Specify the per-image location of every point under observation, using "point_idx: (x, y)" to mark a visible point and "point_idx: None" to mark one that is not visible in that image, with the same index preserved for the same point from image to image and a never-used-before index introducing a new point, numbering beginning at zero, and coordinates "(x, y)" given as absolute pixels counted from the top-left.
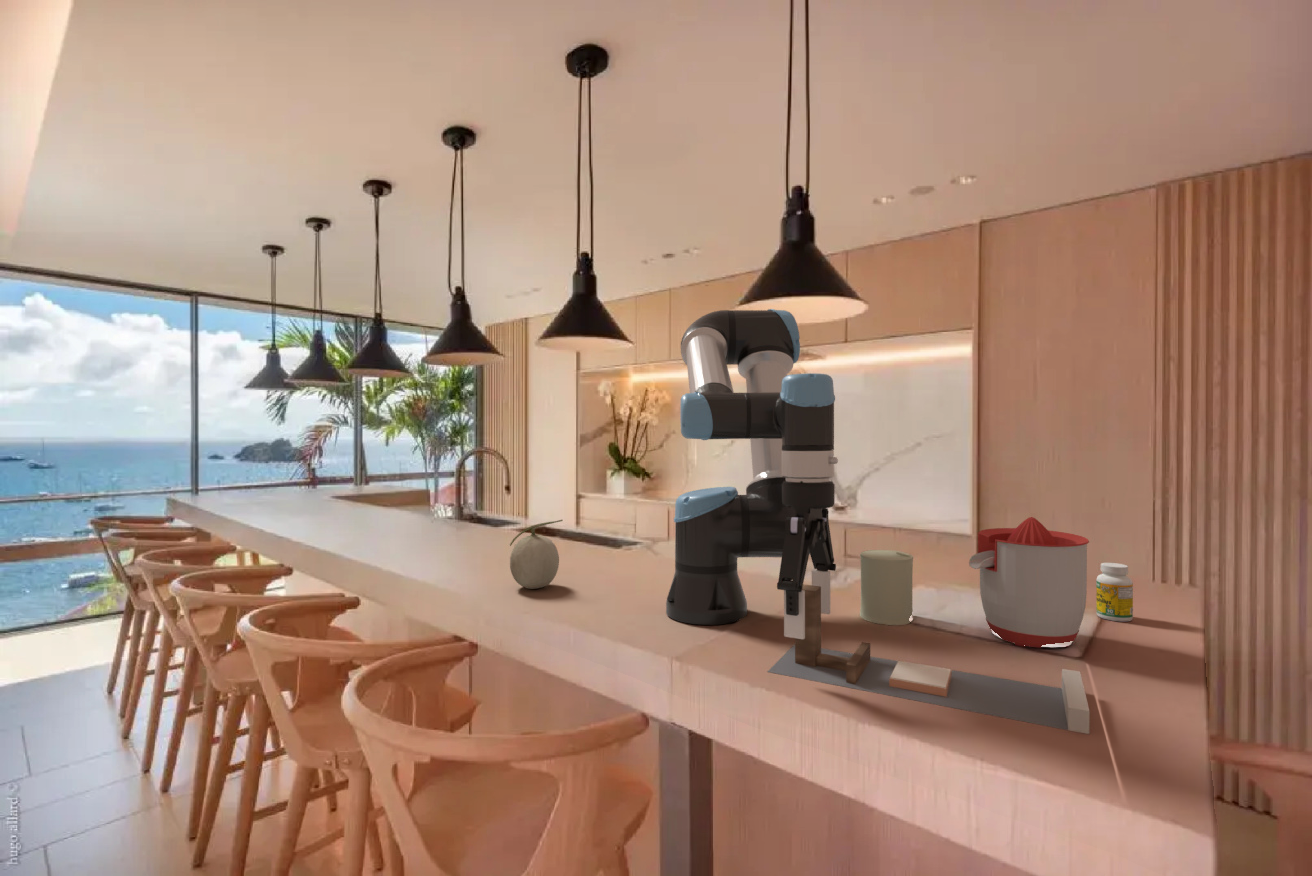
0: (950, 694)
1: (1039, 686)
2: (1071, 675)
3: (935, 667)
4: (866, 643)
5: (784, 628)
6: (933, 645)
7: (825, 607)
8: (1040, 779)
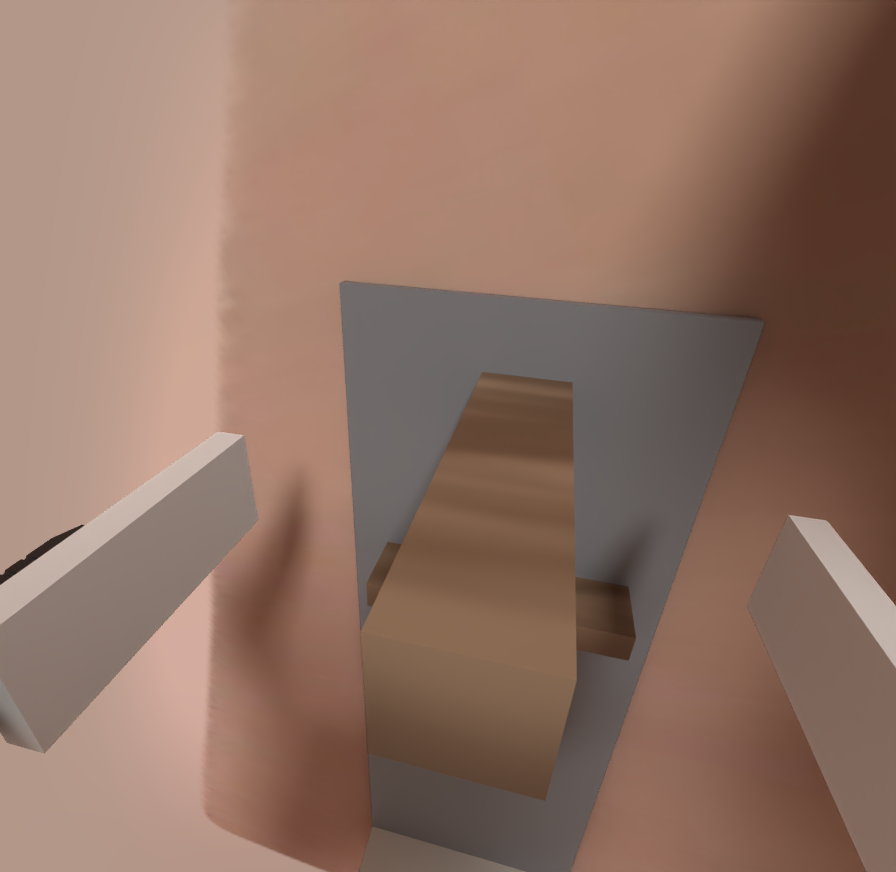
0: None
1: (561, 861)
2: None
3: None
4: (619, 649)
5: (190, 453)
6: None
7: (771, 621)
8: (206, 748)
